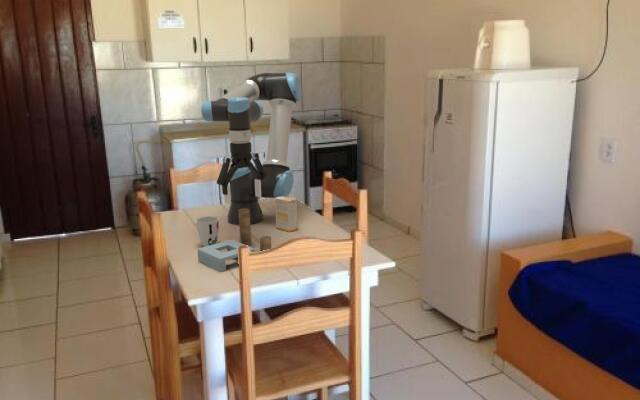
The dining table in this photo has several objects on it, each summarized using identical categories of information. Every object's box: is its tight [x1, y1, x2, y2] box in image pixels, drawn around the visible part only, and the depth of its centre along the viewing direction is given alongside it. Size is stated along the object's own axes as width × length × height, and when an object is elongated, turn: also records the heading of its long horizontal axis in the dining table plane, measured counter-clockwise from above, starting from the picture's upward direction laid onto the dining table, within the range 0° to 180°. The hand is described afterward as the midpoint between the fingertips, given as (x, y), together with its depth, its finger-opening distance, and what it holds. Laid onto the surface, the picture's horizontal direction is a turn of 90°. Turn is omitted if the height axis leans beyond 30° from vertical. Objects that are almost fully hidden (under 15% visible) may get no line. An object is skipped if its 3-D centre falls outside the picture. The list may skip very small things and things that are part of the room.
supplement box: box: [274, 196, 299, 233], centre depth 225 cm, size 8×5×13 cm, turn 47°
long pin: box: [238, 208, 252, 247], centre depth 206 cm, size 4×4×14 cm
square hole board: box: [196, 239, 256, 273], centre depth 192 cm, size 14×14×4 cm
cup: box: [195, 216, 220, 247], centre depth 208 cm, size 8×8×10 cm
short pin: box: [259, 235, 272, 252], centre depth 198 cm, size 4×4×6 cm
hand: (243, 200), depth 203 cm, fingers open, 13 cm apart
